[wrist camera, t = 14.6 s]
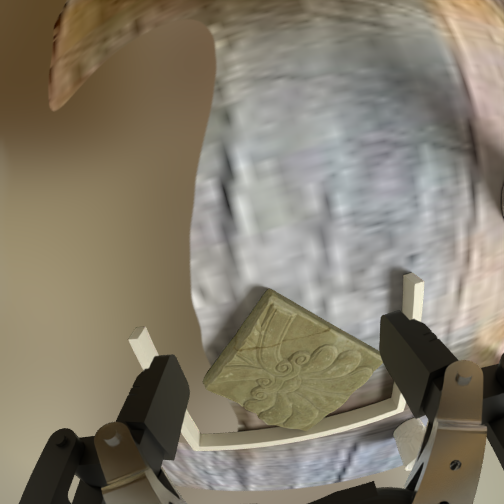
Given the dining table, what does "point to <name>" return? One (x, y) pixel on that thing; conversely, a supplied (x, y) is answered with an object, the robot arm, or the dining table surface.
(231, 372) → the decorative tile
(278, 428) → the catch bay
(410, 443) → the white cup
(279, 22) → the dining table surface
